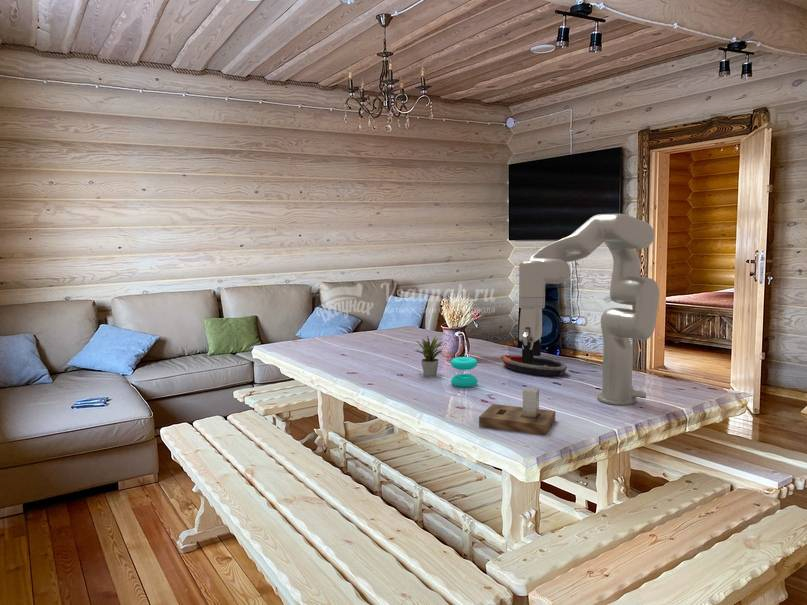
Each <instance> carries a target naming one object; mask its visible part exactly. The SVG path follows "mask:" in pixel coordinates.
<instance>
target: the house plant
mask: <svg viewBox="0 0 807 605" xmlns="http://www.w3.org/2000/svg"><path fill="white" fill-rule="evenodd" d="M426 338H427V339H426V340H425V339H424V338H423V337H421V340H422V342H421V343H420V342H419V341H416V343H417V344H418V345H419V346H420V347H421V349H422V350H421V351H420V350H415V351H413V352H415V353H420V354H422V355H423V357H424V358H422V359H421V367H422V371H423V376H425V377H436V376H437V373H438V368H439V359H438V358H436V357H437V356H438V355H439V354H441V355H443V356H444V353H443V348H441V349H438V348H440V347H441V346H445V345H446V344H444V343H446V341H447V339H445V340H442V341H439V342H438V339H439V337H436V336H434V337H433V338H432V341H430V339H429V336H428V335H426Z"/></svg>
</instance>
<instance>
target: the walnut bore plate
mask: <svg viewBox="0 0 807 605" xmlns="http://www.w3.org/2000/svg"><path fill="white" fill-rule="evenodd" d="M555 422H556V411H555V410H549V409H540V408H539V417H538V419H533V418H525V417H523V406H515V405H514V406H513V405H505V404H496V403H492V404H491V405H490V406H489V407H488V408H486V409H485V411H483V412H482V413H481V414H480V415H479V416H478V427H480V428H490V429H495V430H504V431H512V432H518V433H520V432H521V433H526V434H527V433H528V434H533V435H541V436H546V435H547V433H548V432H549V430H550V429H551V428H552V426H553V424H554V423H555Z"/></svg>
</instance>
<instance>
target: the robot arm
mask: <svg viewBox="0 0 807 605" xmlns="http://www.w3.org/2000/svg"><path fill="white" fill-rule="evenodd" d="M654 230H655V229H654V228H653V227H652V225H651V224H650V223H649V222H647V221H644V220H641V219H639V218H636V217H634V216H631V215H627V214H626V213H625V214H624V213H599V214H595V215H593V216H592V217H589V219H587V220H586V221H585V222H584V223H583V224H582V225H580V226H579V227H578V228H577V229H576V230H574V231H573V232H572V233H571V234H570V235H567V236H566V237H562V238H561V239H559V240H555V241H554V242H552V243H549V244H547V245H545V246H544V247H542V248H540V249H538V250H537V251H536V252H535V253H534V254H532V256H531V257H530V258H529V259H528V260H527V259H526V260H522V261H521V262H520V263H519V265H518V308H519V309H520V314H519V330H518V340H519V342H522V343H521V344H522V345H521V356H522V362H523V363H533V357H540V356H541V355H542V344H541V343H542V339H541V337H542V336H543V310H542V309H545V307H546V284H550V285H551V284H553V285H559V284H562V283H564V282H565V283H566V281H567V280H568V279H569V277H570V276H571V267H570V264H568V263H569V262H575V261H580V260H583V259H586V258H587V257H588V256H590V255H591V254H592V253H593V252H594V251H595V250H596V249H597V248H599V247H600V246H601V245H602V244H603V243H604V244H605V246H606V247H607V248H608V249H609V252H610V254H611V256H612V260H613V264H612V272H611V273H612V274H611V278H610V279H611V280H610V288H609V297H610V300H611V301H612V302H613V303H616V304H619V305H626V306H627V305H628V306H635V309H630V308H625V307H624V308H623V307H611V308H608V309H606V310H604V312H603V313H602V314H601V317H600V327H601V328H600V329H601V333H602V334H601V335H602V344H603V345H602V347H603V348H602V349H603V350H602V351H603V352H602V388H601V389H602V392H600V393H598V394H597V400H598V401H600V402H602V403H605V404H609V405H617V406H625V405H632V404H636V402H637V400H638V399H637V398H640V399H646V398H647V393H646V392H644V391H643V390H636V389H634V388H635V387H634V386H633V367H634V366H633V364H634V363H633V362H634V349H633V344H632V342H631V340H638V341H647V340H648V339H650V338H651V337H652V336H653V334H654V332H655V328H656V321H657V317H658V316H657V315H658V311H659V302H660V287H659V284H658V283H657V282H656V281H655V279H653V278H650V277H646V276H645V277H644V276H640V272H641V271H640V269H641V259H640V257H639V254H638V252H637V251H636V250H645V249H647V248H649V247H650V246H651V245H652V244H653V242H654V239H655V231H654Z"/></svg>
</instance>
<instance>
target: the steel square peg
mask: <svg viewBox="0 0 807 605" xmlns="http://www.w3.org/2000/svg"><path fill="white" fill-rule="evenodd" d="M522 407H523V417H525V418H533V419H538V417H539V409H540V388H536V387H525V388H524V389H523V390H522Z"/></svg>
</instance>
